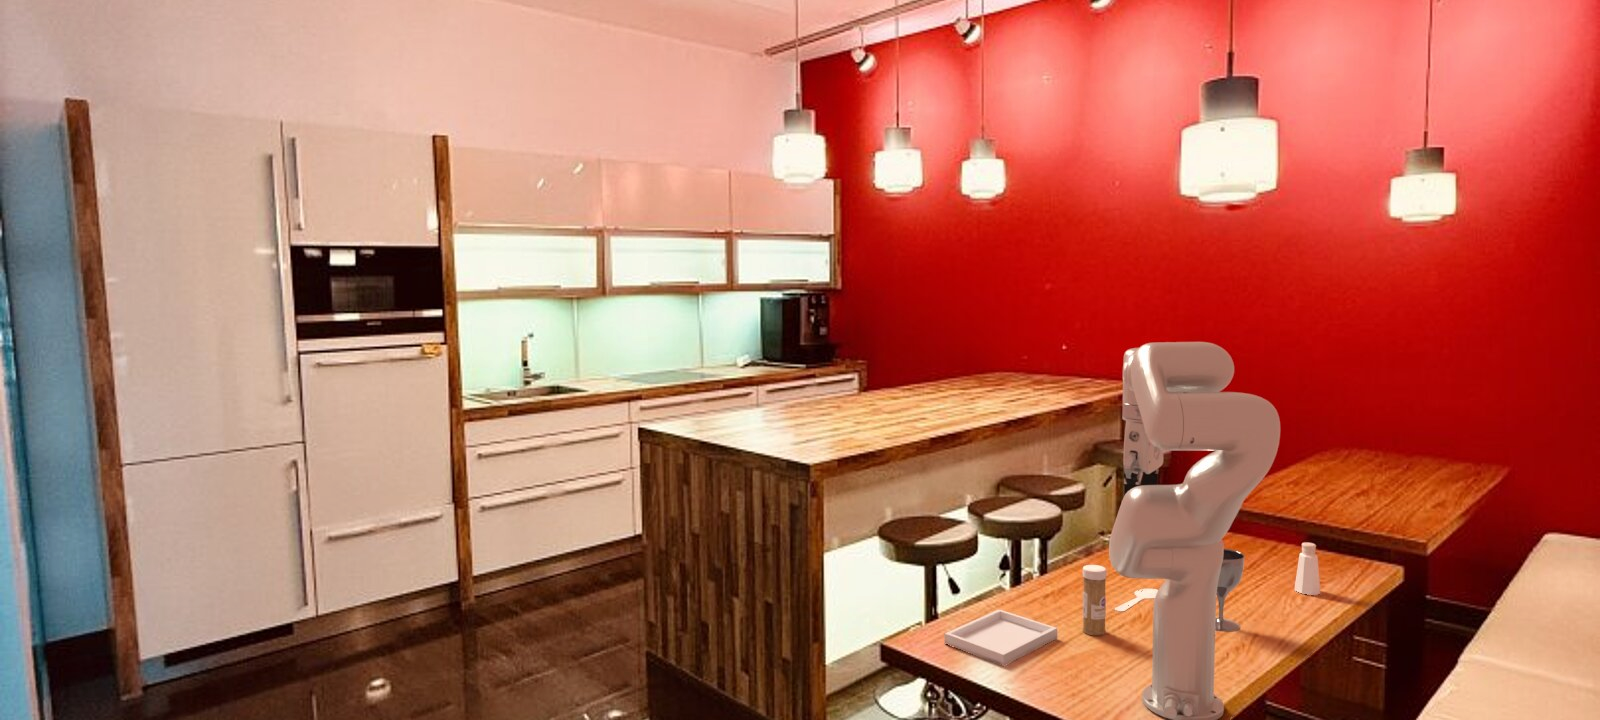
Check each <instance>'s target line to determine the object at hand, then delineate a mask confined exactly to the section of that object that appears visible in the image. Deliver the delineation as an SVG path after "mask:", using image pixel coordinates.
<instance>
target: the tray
mask: <svg viewBox="0 0 1600 720" xmlns="http://www.w3.org/2000/svg"><path fill="white" fill-rule="evenodd" d="M1057 639H1058V627H1056V626H1052V625H1049V624H1047V623H1044V622H1040V621H1037V620H1033V619H1031V618H1027V617H1024V616H1021V615H1018V614H1015V613H1012V612H1010V611H1009V612H1008V611H1005V610H1002V609H997V610H994V611H992V612H990V613H988V614H985V615H983V616H980V617H979V618H977V619H974V620H971V621H969V622H967V623H965V624H963V625H960V626H959V627H958V626H957V628H953V629H952V630H949V631H947V632H944V644H945V643H946V644H949V645H951V646H954V647H956V648H958V649H957V650H959V649H961V650H960V651H962V650H963V651H962V652H964V651H966V652H965V653H967V652H969V653H968V654H970V653H971V654H970V655H972V654H973V656H975V655H976V656H975V657H978V656H979V657H978V658H980V657H981V658H980V659H983V660H986V661H988V662H991V663H993V664H994V663H995V664H996V665H999V666H1002V667H1005V666H1007V665H1009V664H1011V663H1012V661H1013V662H1014V660H1015V661H1017V660H1019V659H1021V658H1023V657H1024V656H1026V655H1028V654H1030V653H1032V652H1033V650H1034V651H1036V650H1038V649H1040V648H1042V647H1043V645H1044V646H1045V644H1046V645H1048V644H1049V642H1050V643H1051V641H1052V642H1053V640H1054V641H1055V640H1057ZM1047 643H1048V644H1047ZM946 644H945V645H946ZM951 646H950V647H951ZM1041 646H1042V647H1041ZM954 647H953V648H954ZM1039 647H1040V648H1039ZM956 648H955V649H956ZM1037 648H1038V649H1037ZM1031 651H1032V652H1031ZM1029 652H1030V653H1029ZM1027 653H1028V654H1027ZM1025 654H1026V655H1025ZM1018 658H1019V659H1018ZM1016 659H1017V660H1016ZM1010 662H1011V663H1010ZM1008 663H1009V664H1008ZM1006 664H1007V665H1006ZM1004 665H1005V666H1004Z"/></svg>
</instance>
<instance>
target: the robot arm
mask: <svg viewBox="0 0 1600 720" xmlns="http://www.w3.org/2000/svg"><path fill="white" fill-rule="evenodd" d="M1122 364H1123V366H1122V414H1121V415H1122V416H1121V417H1122V418H1121V419H1122V420H1123V421H1125V428H1124V439H1123V440H1124V441H1123V458H1122V460H1123V471H1124V473H1123V498H1122V500H1121V503H1120V506H1119V509H1118V511H1117V514H1116V515H1117V516H1116V518H1115V521H1114V523H1113V527H1112V529H1111V534H1110V536H1109V537H1110V538H1109V543H1108V555H1109V560H1110V563H1111V566H1112V567H1113V569H1114V571H1116V572H1117V574H1119V575H1120V576H1122V577H1124V578H1129V579H1138V580H1139V579H1141V580H1142V579H1144V580H1145V579H1146V580H1147V579H1149V580H1155V579H1156V580H1165V581H1164V582H1163V583H1162V584H1161V586H1160V587H1159V589H1157V590H1158V592H1157V594H1156V596H1155V598H1154V599H1153V600H1154V601H1153V604H1152V605H1153V607H1152V610H1153V614H1152V615H1153V616H1152V666H1151V667H1152V672H1151V673H1152V675H1151V678H1152V679H1151V684H1149V685H1148V686H1146V687H1145V688H1144V689H1143V690H1142V693H1141V696H1142V697H1141V698H1142V699H1141V700H1142V703H1143V704H1144V705H1145V706H1146V708H1147V709H1148V710H1150V711H1151V712H1152V713H1154V714H1156V715H1158V716H1160V717H1162V718H1165V719H1168V720H1218V719H1220V718H1221V717H1222V716H1223V715H1224V710H1225V705H1224V702H1223V701H1222V699H1221V698H1220V697H1219V696H1217V694H1215V693H1214V692H1215V659H1216V658H1215V653H1216V650H1215V649H1216V630H1215V620H1216V618H1217V616H1216V615H1217V614H1216V612H1217V586H1218V580H1219V575H1220V570H1221V566H1222V561H1223V554H1224V548H1225V547H1224V543H1223V542H1224V541H1223V538H1224V537H1225V536H1226V534H1227V533H1228V531H1230V528H1231V526H1232V524H1233V522H1234V520H1235V518H1236V517H1237V515H1238V514H1239V511H1240V510H1241V508H1242V506H1243V503H1244V501H1245V499H1246V498H1248V496H1249V495H1250V494H1251V492H1252V491H1253V490H1254V489H1255V488H1256V487H1257V486H1259V484H1260V482H1261V481H1262V480H1263V479H1264V478H1265V476H1266V475H1267V474H1268V472H1269V471H1270V470H1271V467H1272V465H1273V463H1274V461H1275V459H1276V456H1277V453H1278V450H1279V449H1278V448H1279V446H1280V439H1281V421H1280V416H1279V413H1278V410H1277V409H1276V408H1275V406H1274V405H1273V404H1272V403H1271V402H1270V401H1269V400H1267V399H1265V398H1263V397H1261V396H1258V395H1256V394H1252V393H1246V392H1245V393H1244V392H1238V391H1237V392H1236V391H1223V390H1224V389H1225V388H1227V386H1228V385H1229V384H1230V383H1231V381H1232V379H1233V377H1234V374H1235V365H1234V361H1233V359H1232V356H1231V355H1230V354H1229V352H1228V351H1226V349H1224V348H1223V347H1222V346H1219V345H1218V344H1215V343H1212V342H1206V341H1176V342H1174V341H1173V342H1172V341H1171V342H1170V341H1165V342H1157V341H1156V342H1148V343H1145V344H1142V345H1140V347H1134V348H1129V349H1127V350H1126V351H1125V352H1124V355H1123V363H1122ZM1164 451H1172V452H1173V451H1178V452H1179V451H1180V452H1181V451H1187V452H1190V451H1192V452H1193V451H1200V452H1201V451H1203V452H1204V451H1206V452H1207V451H1208V452H1209V451H1213V452H1211V453H1209V454H1207V455H1206V456H1204V457H1202V458H1201V459H1200V460H1198V461H1197V462H1196V463H1195V464H1193V465H1192V466H1191V467H1190V469H1189V470H1188V471H1187V473H1186V475H1185V477H1184V480H1183V482H1182V483H1178V484H1159V470H1160V469H1159V468H1160V467H1161V466H1163V464H1164ZM1136 475H1137V476H1136Z"/></svg>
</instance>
